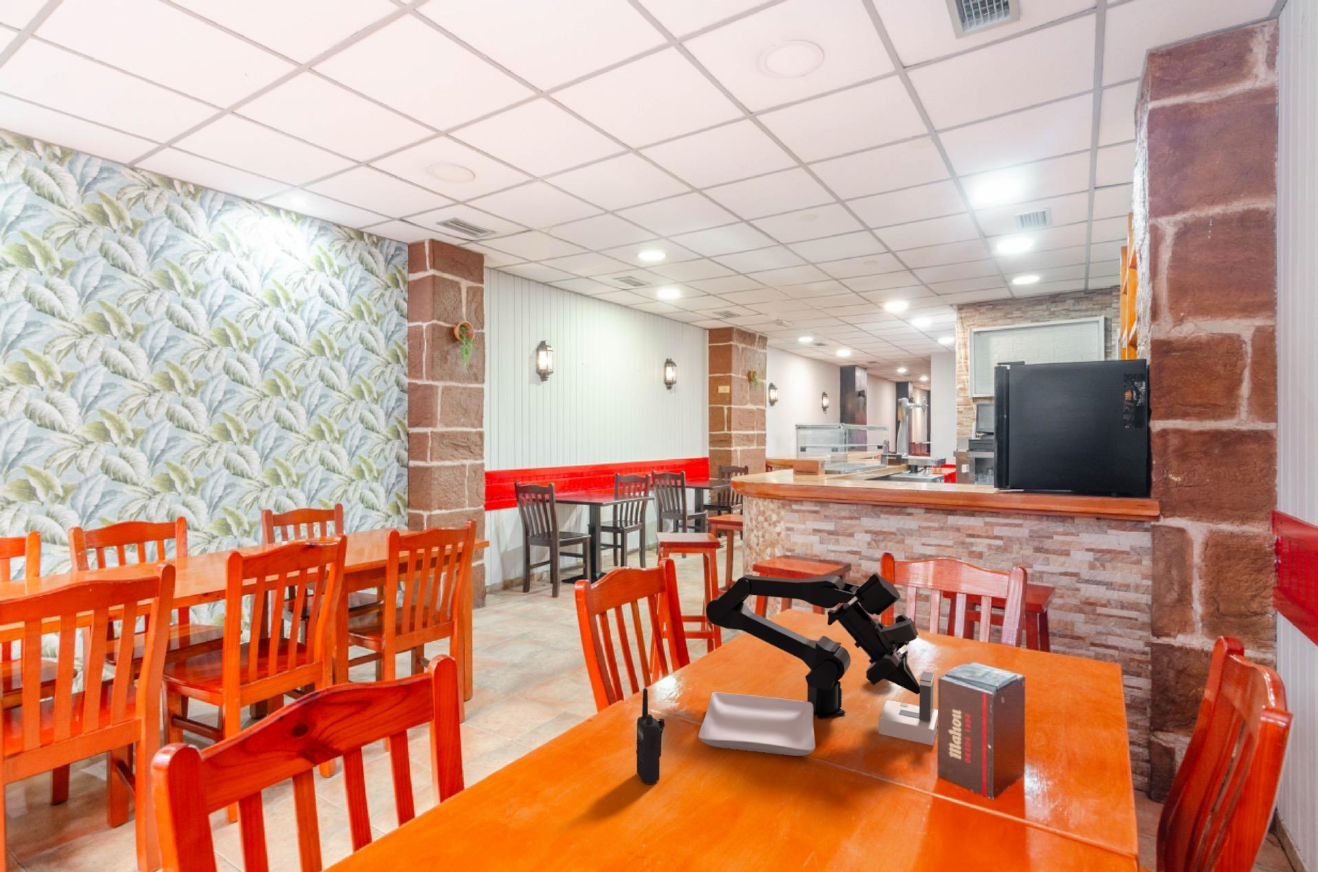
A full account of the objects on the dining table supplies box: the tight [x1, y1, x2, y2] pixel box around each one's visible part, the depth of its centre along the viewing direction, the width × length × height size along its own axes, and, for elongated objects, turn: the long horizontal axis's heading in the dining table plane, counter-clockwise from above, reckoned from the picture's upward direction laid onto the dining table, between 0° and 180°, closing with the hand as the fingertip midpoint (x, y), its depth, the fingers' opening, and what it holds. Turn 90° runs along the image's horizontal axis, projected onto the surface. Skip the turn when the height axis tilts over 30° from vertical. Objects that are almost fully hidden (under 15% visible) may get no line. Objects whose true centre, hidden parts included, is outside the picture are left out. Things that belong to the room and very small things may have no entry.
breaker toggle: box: [918, 671, 935, 721], centre depth 132 cm, size 2×5×8 cm, turn 152°
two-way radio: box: [635, 687, 666, 785], centre depth 114 cm, size 6×4×15 cm
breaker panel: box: [877, 699, 939, 746], centre depth 133 cm, size 10×10×3 cm
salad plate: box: [698, 691, 816, 757], centre depth 131 cm, size 21×21×3 cm
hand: (919, 692), depth 132 cm, fingers closed, pressing on breaker toggle
